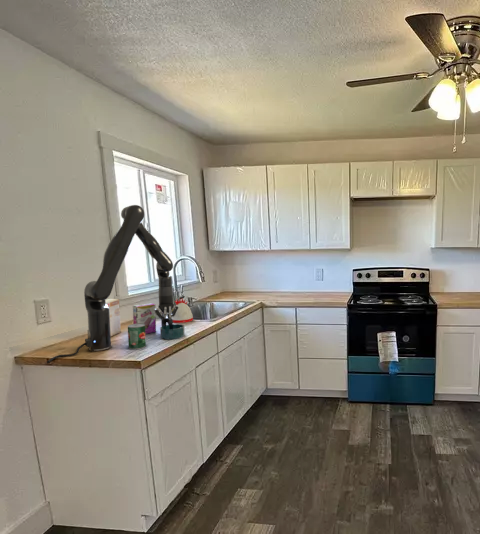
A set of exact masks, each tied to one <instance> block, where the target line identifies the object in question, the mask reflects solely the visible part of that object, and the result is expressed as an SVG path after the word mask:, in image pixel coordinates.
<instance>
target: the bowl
mask: <svg viewBox="0 0 480 534" xmlns="http://www.w3.org/2000/svg"><path fill="white" fill-rule="evenodd" d="M185 329H186V328H185V325H184V324H183V323H182V324H181V323H173V329H169V325H168V324H166V325H165V326H160V327H159V330H160V331H159V332H160V338H161V339H163V340H177V339H180V338H182V337H184V336H186V332H185V331H186V330H185Z"/></svg>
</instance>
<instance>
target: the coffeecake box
mask: <svg viewBox="0 0 480 534" xmlns="http://www.w3.org/2000/svg"><path fill="white" fill-rule="evenodd" d="M105 302H106V304H107V306H108V307H109V313H110V334H111V337H113V336H115V335H117V334H119V333H121V332H122V329H121V311H120V310H121V309H120V299H119V298H107V299H105Z"/></svg>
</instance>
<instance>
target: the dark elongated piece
mask: <svg viewBox="0 0 480 534" xmlns="http://www.w3.org/2000/svg"><path fill="white" fill-rule="evenodd" d="M160 323H161V324H160V325H161V326H160V327H162V326H165V325H164V324H163V321H162V318H160ZM168 323H169V329H173V324H174V323H173V319H172V318H169V317H168V316H166V324H168Z"/></svg>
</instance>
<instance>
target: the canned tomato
mask: <svg viewBox="0 0 480 534" xmlns="http://www.w3.org/2000/svg"><path fill="white" fill-rule="evenodd" d="M146 338H147V337H146V334H145V324H143V323H137V324H133V323H132V324H128V325H127V343H128V349H129V350H140V349H144V348H146V347H147V343H146V342H147V339H146Z"/></svg>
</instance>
